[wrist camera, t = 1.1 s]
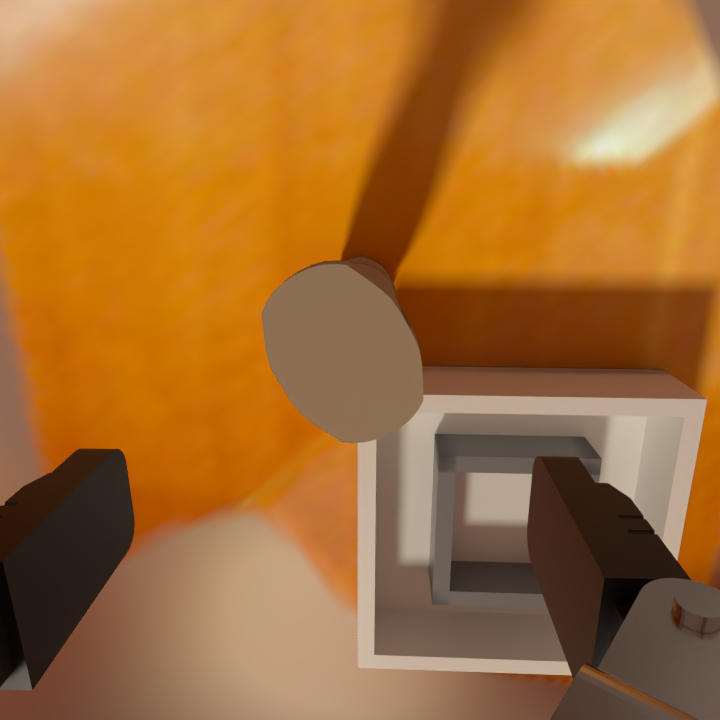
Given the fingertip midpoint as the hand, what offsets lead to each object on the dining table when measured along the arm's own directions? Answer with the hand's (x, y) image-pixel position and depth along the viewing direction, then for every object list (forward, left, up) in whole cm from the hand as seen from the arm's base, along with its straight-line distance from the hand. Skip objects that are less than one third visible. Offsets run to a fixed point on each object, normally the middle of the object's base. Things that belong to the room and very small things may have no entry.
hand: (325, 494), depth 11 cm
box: (+14, +9, -24) cm, 29 cm away
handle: (0, 0, -24) cm, 24 cm away
